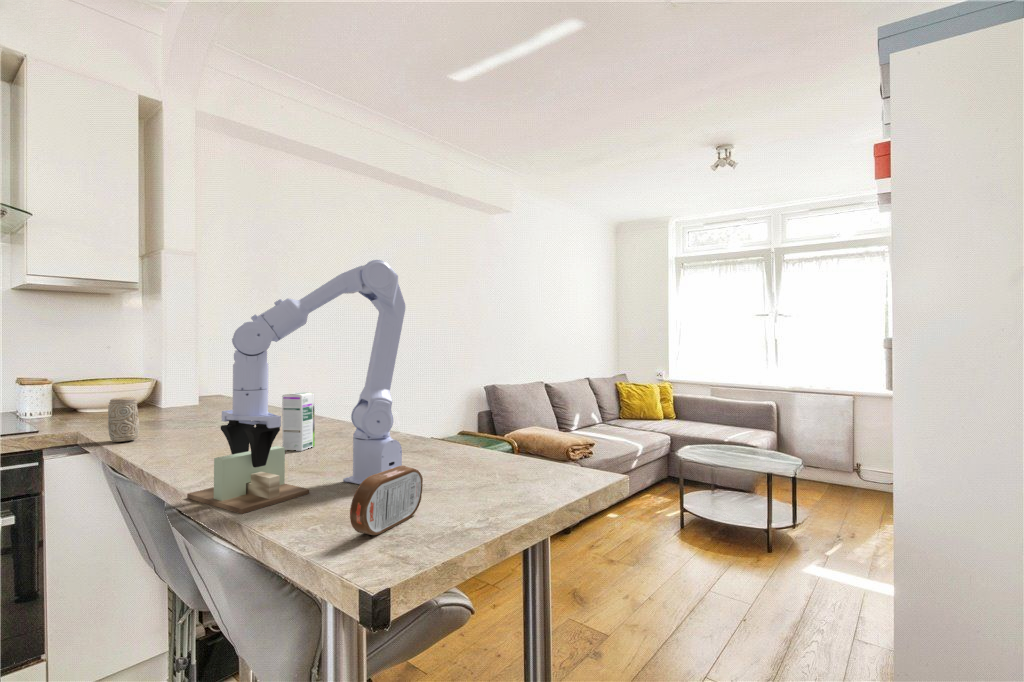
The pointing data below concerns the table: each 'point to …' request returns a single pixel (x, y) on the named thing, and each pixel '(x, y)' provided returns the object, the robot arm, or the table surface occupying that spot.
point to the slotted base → (253, 494)
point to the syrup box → (298, 421)
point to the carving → (123, 419)
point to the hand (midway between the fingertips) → (249, 464)
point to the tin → (386, 500)
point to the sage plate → (243, 472)
